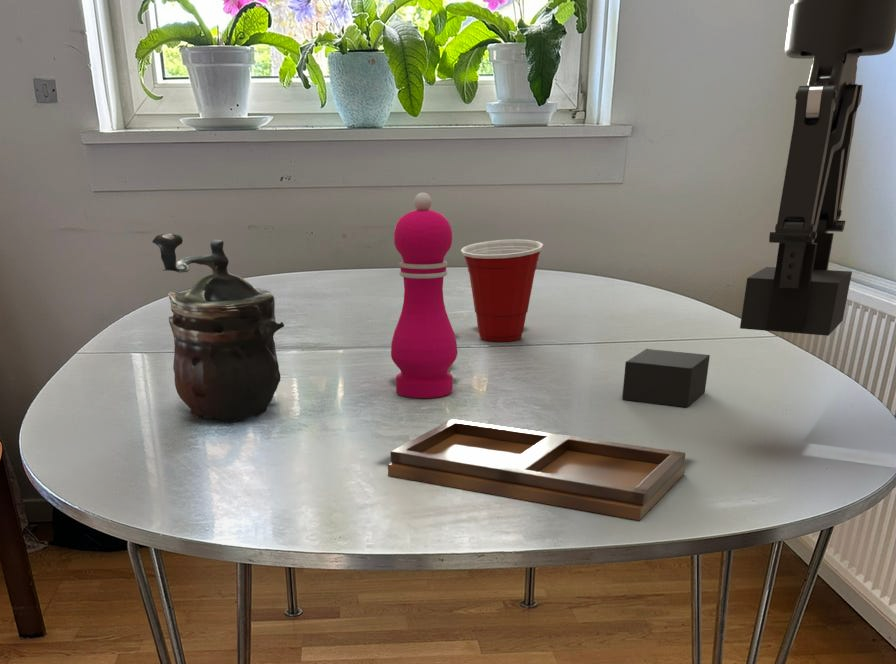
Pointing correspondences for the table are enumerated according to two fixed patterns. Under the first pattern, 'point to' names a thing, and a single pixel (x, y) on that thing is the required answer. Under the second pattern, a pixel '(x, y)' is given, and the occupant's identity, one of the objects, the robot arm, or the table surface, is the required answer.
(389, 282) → the table surface
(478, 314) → the plastic cup
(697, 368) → the dark grey square block
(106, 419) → the table surface
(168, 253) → the coffee grinder
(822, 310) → the black square block
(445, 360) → the pepper mill
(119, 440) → the table surface
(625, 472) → the divided wooden tray
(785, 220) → the robot arm
